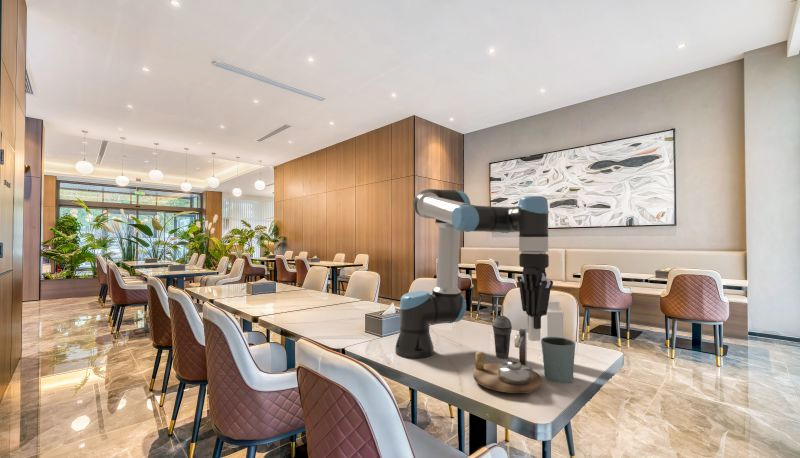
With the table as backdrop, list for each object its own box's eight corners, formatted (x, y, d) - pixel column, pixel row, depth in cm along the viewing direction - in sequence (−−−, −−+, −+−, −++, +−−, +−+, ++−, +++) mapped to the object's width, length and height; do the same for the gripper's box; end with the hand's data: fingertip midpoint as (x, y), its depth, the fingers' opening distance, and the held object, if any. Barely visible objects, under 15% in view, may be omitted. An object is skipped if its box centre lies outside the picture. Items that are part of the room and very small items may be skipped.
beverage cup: (509, 354, 138) (509, 302, 138) (514, 360, 131) (514, 306, 131) (490, 353, 139) (490, 302, 139) (494, 359, 131) (494, 305, 132)
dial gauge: (508, 379, 113) (508, 335, 113) (517, 367, 123) (517, 327, 124) (524, 382, 110) (524, 337, 111) (532, 370, 121) (532, 329, 121)
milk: (540, 359, 132) (539, 300, 133) (555, 359, 132) (555, 300, 133) (547, 365, 126) (547, 303, 127) (564, 365, 126) (563, 303, 127)
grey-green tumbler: (580, 378, 114) (580, 341, 114) (568, 387, 107) (567, 347, 108) (549, 370, 121) (549, 334, 122) (535, 377, 115) (535, 340, 115)
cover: (494, 381, 104) (494, 363, 104) (502, 371, 111) (502, 355, 111) (526, 388, 99) (526, 369, 99) (532, 377, 107) (532, 360, 107)
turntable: (464, 383, 106) (464, 361, 106) (484, 363, 123) (484, 344, 123) (534, 399, 95) (534, 374, 96) (546, 375, 112) (546, 354, 113)
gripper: (561, 253, 91) (562, 345, 90) (531, 252, 104) (532, 333, 103) (536, 253, 89) (537, 347, 89) (508, 252, 102) (509, 334, 101)
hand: (534, 339), depth 96 cm, fingers closed
